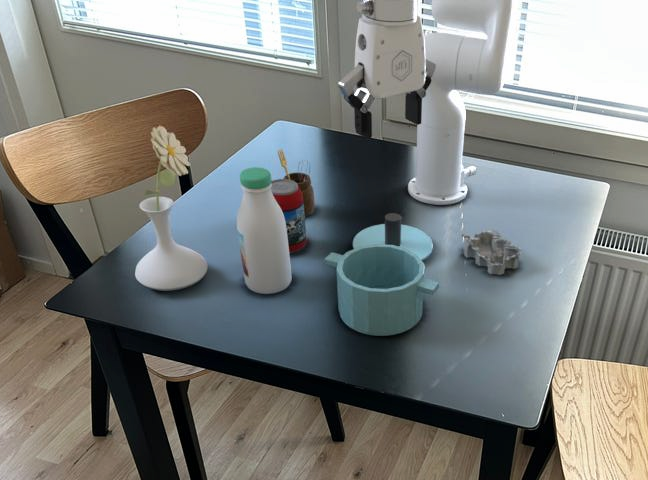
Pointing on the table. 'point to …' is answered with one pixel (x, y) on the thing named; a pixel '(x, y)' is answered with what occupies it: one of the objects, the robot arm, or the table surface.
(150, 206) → the flower in vase
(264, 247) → the milk bottle
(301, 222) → the beverage can
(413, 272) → the pot
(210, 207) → the table surface
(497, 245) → the egg carton
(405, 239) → the pot lid
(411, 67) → the robot arm
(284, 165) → the utensil holder
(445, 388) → the table surface
